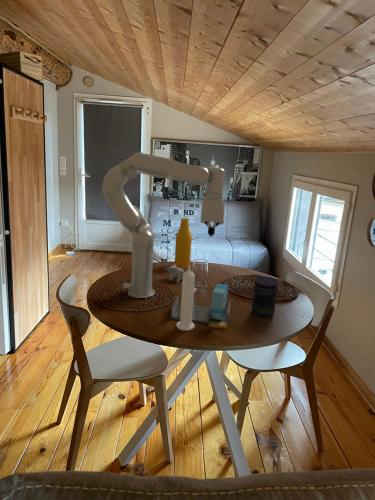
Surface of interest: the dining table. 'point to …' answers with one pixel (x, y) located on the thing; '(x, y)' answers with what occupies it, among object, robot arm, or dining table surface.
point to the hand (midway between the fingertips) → (210, 235)
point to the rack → (201, 314)
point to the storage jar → (264, 297)
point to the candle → (187, 301)
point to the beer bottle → (183, 245)
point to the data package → (219, 302)
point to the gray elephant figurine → (175, 272)
